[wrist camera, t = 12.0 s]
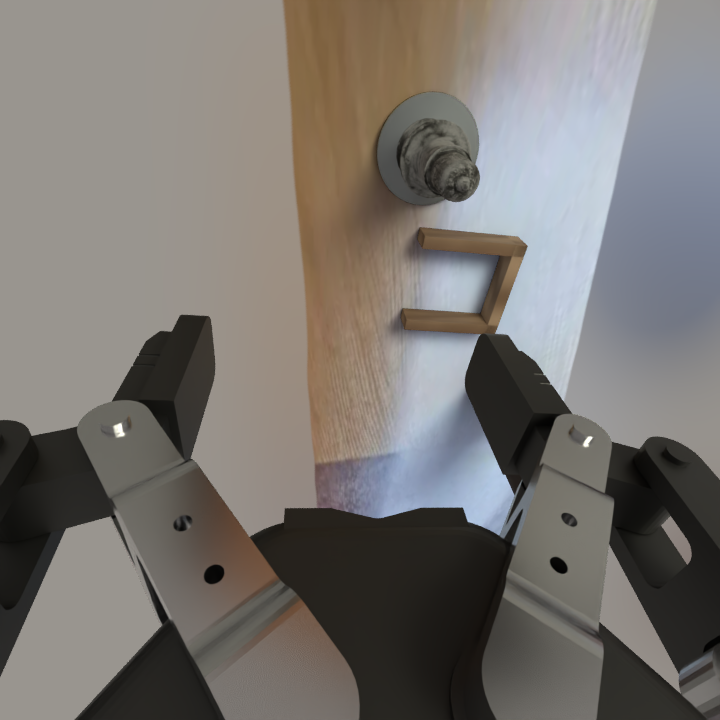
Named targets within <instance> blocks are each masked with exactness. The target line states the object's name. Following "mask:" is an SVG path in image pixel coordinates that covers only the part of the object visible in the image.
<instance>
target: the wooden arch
mask: <svg viewBox="0 0 720 720" xmlns="http://www.w3.org/2000/svg"><path fill="white" fill-rule="evenodd" d="M417 239H418V241H419V243H420V245H421V247H422V249H433V250H444V251H455V252H467V253H478V254H489V255H500V257H499V260H498V263H497V266H496V269H495V272H494V275H493V278H492V281H491V284H490V287H489V290H488V293H487V296H486V299H485V302H484V305H483V308H482V311H481V314H479V313H464V312H449V311H434V310H419V309H404V308H403V310H402V314H401V320H402V323H403V326H404V329H405V330H422V331H439V332H456V333H473V334H483V333H487V334H495V332H496V330H497V327H498V324H499V322H500V319H501V316H502V314H503V311H504V308H505V306H506V303H507V300H508V297H509V295H510V292H511V289H512V287H513V284H514V281H515V279H516V276H517V273H518V271H519V268H520V265H521V263H522V260H523V257H524V255H525V252H526V249H527V247H528V246H527V245H526V244H525V243H524V242H523V241H522V240H521V239H520V238H519V237H515V236H505V235H495V234H484V233H474V232H463V231H453V230H442V229H432V228H422V227H420V229H419V233H418V238H417Z"/></svg>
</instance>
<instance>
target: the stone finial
mask: <svg viewBox="0 0 720 720" xmlns="http://www.w3.org/2000/svg"><path fill="white" fill-rule="evenodd" d="M396 158H397V163H398V167H399V169H400V171H401V176H402V178H403V180H404V182H405V184H406V185H407V187H408V188H409V189H410V190H411V191H412V192H414V193H415V194H417V195H418V196H421V197H425V198H438V197H441V196H442V197H444V198H445V199H447V200H448V201H452V202H460V201H464V200H466V199H468V198H469V197H470V196H471V195H472V194H474V192H475V191H476V189H477V187H478V185H479V180H480V175H479V171H478V168H477V166H476V165H475V164H474V163H473V162H472V160H471V145H470V142H469V140H468V137H467V135H466V134H465V132H464V131H463V130H462V128H461V127H459V126H458V125H456V124H455V123H454V122H451V121H447V120H437V119H433V118H425V119H422V120H418V121H416V122H415V123H413V124H412V125H410V126H409V127H408V128H407V129H406V130H405V131H404V132H403V134H402V136H401V138H400V140H399V143H398V146H397V155H396Z"/></svg>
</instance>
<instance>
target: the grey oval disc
mask: <svg viewBox="0 0 720 720" xmlns="http://www.w3.org/2000/svg"><path fill="white" fill-rule="evenodd" d="M425 118H433V119H437V120H447V121H451V122H454V123H455V124H456V125H458V126H459V127H461V128H462V130H463V131H464V132H465V134H466V135H467V137H468V140H469V142H470V145H471V160H472V162H473V163H474V164H475V163H476V159H477V155H478V149H479V135H478V129H477V126H476V122H475V120H474V118H473V116H472V114H471V112H470V111H469V110H468V108H467V107H466V106H465V105H464V104H463V103H462V102H461V101H459V100H458V99H456V98H455V97H453V96H450V95H448V94H445V93H441V92H424V93H420V94H417V95H414V96H412V97H410V98H408V99H406V100H405V101H403V102H402V103H401V104H399V105H398V106H397V107H396V108H395V109H394V110H393V111H392V113H391V114H390V115H389V117H388V118H387V120H386V122H385V123H384V125H383V128H382V130H381V133H380V136H379V140H378V145H377V162H378V167H379V171H380V174H381V176H382V178H383V180H384V182H385V184H386V185H387V187H388V188H389V189H390V191H391V192H392V193H393V194H395V195H396V196H397V197H398V198H400V199H402V200H404V201H406V202H408V203H412V204H417V205H428V204H433V203H437V202H440V201H442V200H444V199H445V198H444V197H442V196H441V197H438V198H425V197H421V196H418V195H417V194H415V193H414V192H412V191H411V190H410V189H409V188H408V187H407V185H406V184H405V182H404V180H403V178H402V176H401V171H400V169H399V167H398V163H397V158H396V155H397V146H398V143H399V140H400V138H401V136H402V134H403V132H404V131H405V130H406V129H407V128H408V127H409V126H410V125H412V124H413V123H415V122H416V121H418V120H422V119H425Z"/></svg>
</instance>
